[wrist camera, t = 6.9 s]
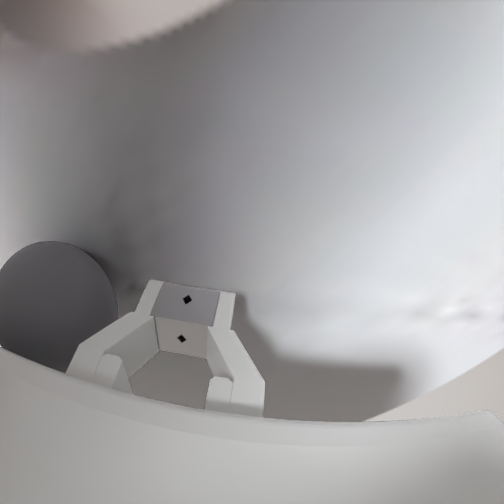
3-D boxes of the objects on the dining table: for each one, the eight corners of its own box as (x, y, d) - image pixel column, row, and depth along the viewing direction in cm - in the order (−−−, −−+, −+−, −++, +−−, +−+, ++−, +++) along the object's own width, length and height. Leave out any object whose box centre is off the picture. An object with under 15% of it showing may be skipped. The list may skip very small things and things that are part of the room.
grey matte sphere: (98, 299, 8) (74, 191, 11) (-36, 365, 6) (-30, 249, 9) (154, 368, 12) (117, 275, 15) (50, 413, 10) (31, 317, 13)
